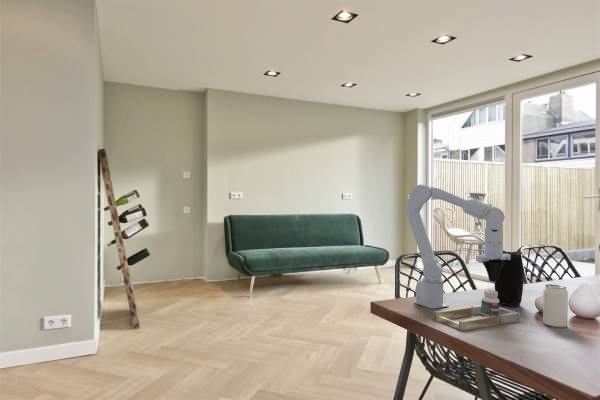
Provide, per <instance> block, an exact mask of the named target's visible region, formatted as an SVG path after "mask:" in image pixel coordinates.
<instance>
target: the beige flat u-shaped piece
mask: <svg viewBox="0 0 600 400" xmlns="http://www.w3.org/2000/svg"><path fill="white" fill-rule="evenodd" d="M472 315H473V314H472V308H471V306H470V307H469V306H465V307H464V306H463V307H458V308H457V307H456V308H450V309H442V310H436V311H433V320H435V321H437V322H440V323H442V324H445V325H447V326H450V327H453V328H455V329H458V330H460V331H470V330H473V329H474V330H475V329H476V330H477V329H480V328H486V327H492V326H493V327H494V326H498V325H499V324H500V323H499V316H496V315H493V316H486V317H481V316H480V317H475V318H469V319H463V320H462V319H461V320H458V321H455V320H452V319H456V318H462V317H464V318H465V317H470V316H472Z"/></svg>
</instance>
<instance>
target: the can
mask: <svg viewBox="0 0 600 400" xmlns="http://www.w3.org/2000/svg"><path fill="white" fill-rule="evenodd" d="M542 302H543V303H542V304H543V305H542V306H543V307H542V312H543V313H542V323H544V325H546V326H549V327H551V328H561V329H563V328H567V326H568V320H569V316H568V314H569V312H568V311H569V291H568V290H567V287H566V286H564V285H560V284H545V287H544V289H543V301H542Z"/></svg>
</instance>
